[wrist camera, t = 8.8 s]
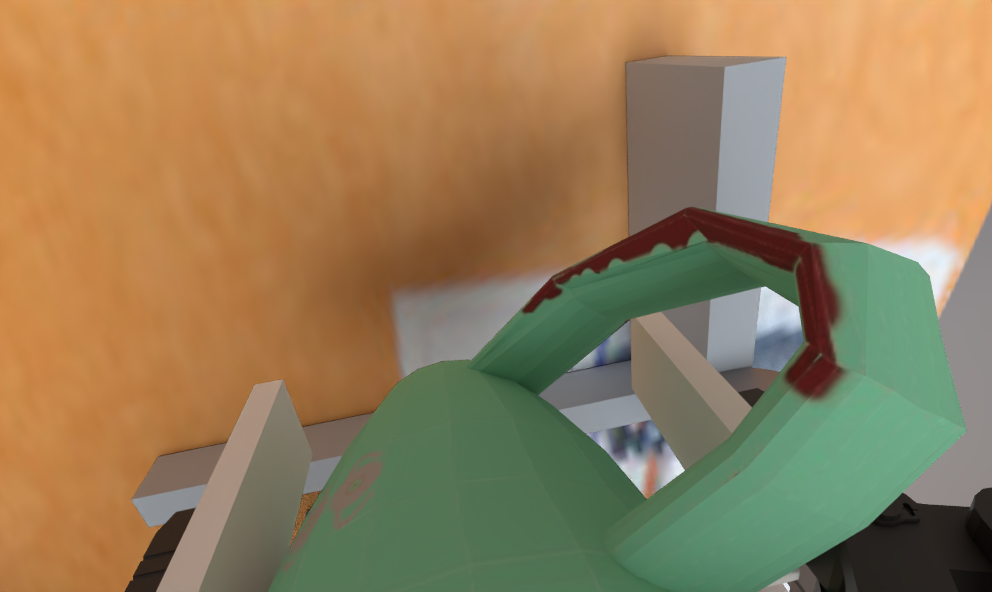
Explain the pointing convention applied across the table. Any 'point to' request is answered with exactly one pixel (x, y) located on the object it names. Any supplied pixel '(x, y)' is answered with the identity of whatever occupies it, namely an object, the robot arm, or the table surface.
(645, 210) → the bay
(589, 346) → the mug
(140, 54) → the table surface
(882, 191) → the table surface
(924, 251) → the table surface
